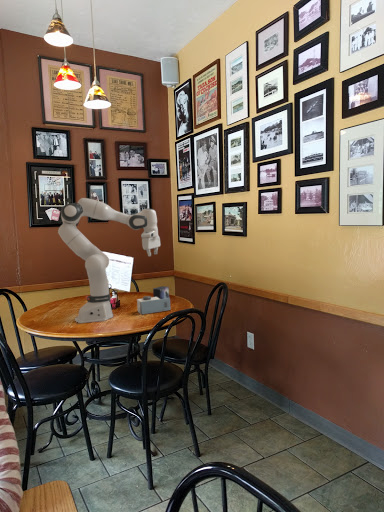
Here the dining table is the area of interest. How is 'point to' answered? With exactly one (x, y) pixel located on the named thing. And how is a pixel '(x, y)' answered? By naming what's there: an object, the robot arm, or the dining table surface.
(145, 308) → the case door
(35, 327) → the dining table surface
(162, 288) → the small box
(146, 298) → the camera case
